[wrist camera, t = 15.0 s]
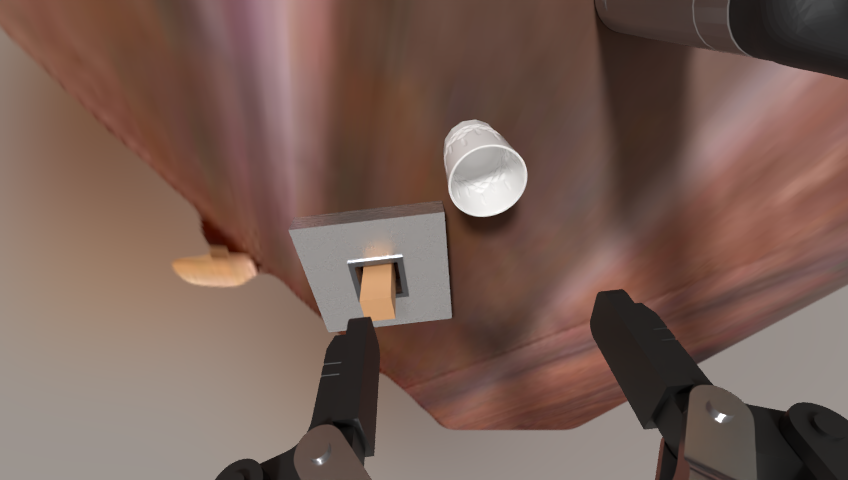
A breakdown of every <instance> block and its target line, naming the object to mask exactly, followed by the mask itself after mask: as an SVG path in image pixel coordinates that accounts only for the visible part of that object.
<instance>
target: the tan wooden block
mask: <svg viewBox="0 0 848 480" xmlns="http://www.w3.org/2000/svg"><path fill="white" fill-rule="evenodd" d="M360 304H361V308H362V311H363V314H364V317H371V319H372V321H379V320H387V319H396V273H395V268H394V263H386V264H377V265H369V266H364V268H363V276H362V284H361V293H360Z"/></svg>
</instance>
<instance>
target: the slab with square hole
mask: <svg viewBox="0 0 848 480" xmlns="http://www.w3.org/2000/svg"><path fill="white" fill-rule="evenodd" d="M289 233H290V235H291V238H292V240H293V243H294V245H295V248H296V250H297V253H298V256H299V258H300V261H301V263H302V266H303V268H304V271H305V274H306V276H307V279H308V281H309V284H310V286H311V289H312V291H313V294H314V297H315V299H316V302H317V304H318V307H319V309H320V312H321V314H322V317H323V320H324V322H325V325H326V327H327V330H328V332H336V331H345V330H347V324H348V320H349V319H352V318H361V317H364V314H363V311H362V308H361V304H360V293H361V284H362V276H363V275H362V271H361V267H360V266H369V265H377V264H386V263H394V262H398V268H399V273H400V279H396V319H387V320H379V321H372V322H373V326H374V327H380V326H388V325H397V324H406V323H414V322H423V321H432V320H440V319H449V318H452V312H451V298H450V284H449V270H448V256H447V242H446V228H445V214H444V208H443V204H442V201H434V202H425V203H417V204H408V205H399V206H391V207H382V208H374V209H365V210H357V211H348V212H339V213H331V214H322V215H314V216H305V217H296V218H294V219H293V221H292V224H291V226H290V228H289Z"/></svg>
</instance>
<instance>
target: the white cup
mask: <svg viewBox="0 0 848 480" xmlns="http://www.w3.org/2000/svg"><path fill="white" fill-rule="evenodd" d="M443 153H444V164H445V171H446V177H447V183H448V189H449V194H450V197H451V199H452V201H453V203H454V204H455V205H456V206H457V207H458V208H459V209H460V210H461V211H463V212H465V213H467V214H469V215H472V216H477V217H488V216H493V215H497V214H499V213H502V212H504V211H505V210H507V209H509V208H510V207H511V206H512V205H514V204H515V203H516V202H517V200H518V199H519V198H520V197H521V195H522V193H523V191H524V189H525V186H526V183H527V169H526V165H525V163H524V161H523V159H522V158H521V156H520V155H519V154H518V153H517V152H516V151H515V150H514V149H513V148H512V147H511V146H510V145H509V144H508V142H507V141H506V140H505V139H504V138H503V137H502V136H501V135H500V134H499V133H498V132H496V131H495V130H493V129H492V128H491V127H490V126H489V124H488V123H485V122H482V121H479V120H476V119H475V120H469V121H463V122H461V123H460V124H458V125H457V126H455V127H454V128H452V129H451V131H450V132H449V134H448V136H447V137H446V139H445V142H444V150H443Z"/></svg>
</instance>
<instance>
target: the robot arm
mask: <svg viewBox="0 0 848 480" xmlns="http://www.w3.org/2000/svg"><path fill="white" fill-rule="evenodd" d="M595 6H596V9H597V12H598V15H599V17H600V19H601V20H602V22H603V23H604V24H605V25H606V26H607V27H608V28H609V29H611V30H613V31H616V32H618V33H623V34H629V35H634V36H639V37H644V38H649V39H654V40H660V41H665V42H670V43H676V44H681V45H687V46H692V47H697V48H703V49H708V50H713V51H719V52H724V53H731V54H736V55H742V56H747V57H752V58H758V59H763V60H769V61H774V62H776V63H778V64H782V65H786V66H789V67H793V68H798V69H803V70H808V71H813V72H818V73H823V74H827V75H831V76H835V77H839V78H843V79H847V80H848V0H595ZM590 328H591V332H592V335H593V338H594V340H595V342H596V343H597V345H598V347H599V349H600V351H601V352H602V354H603V356H604V358H605V360H606V361H607V363H608V365H609V367H610V369H611V371H612V372H613V374H614V376H615V378H616V380H617V381H618V383H619V385H620V387H621V389H622V391H623V392H624V394H625V396H626V398H627V400H628V401H629V403H630V405H631V407H632V409H633V410H634V412H635V414H636V416H637V418H638V420H639V421H640V423H641V425H642V427H643V429H653V428H658V429H659V431H660V433H661V434H662V436H663V437H662V439H661V443H660V450H659V457H658V464H657V470H656V478H655V480H848V420H847V419H845V418H844V417H842V416H841V415H839V414H838V413H836V412H834V411H832V410H830V409H828V408H826V407H823V406H820V405H817V404H813V403H805V402H802V403H797V404H794V405H793V406H791V407H790V408H789V410H787V412H785V411H780V410H775V409H769V408H764V407H759V406H753V405H748V404H745V403H744V402H742V400H741V399H739V398H738V397H737V396H735V395H734V394H732V393H731V392H729V391H727V390H725V389H723V388H720V387H717V386H714V385H713V384H712V383H711V382H710V381H709V380H708V378H707V377H706V376H705V375H704V373H703V372H702V371H701V369H700V368H699V367H698V366H697V364H696V363H695V362H694V361H693V359H692V358H691V357H690V355H689V354H688V353H687V352H686V350H685V349H684V348H683V347H682V345H681V344H680V343H679V342H678V340H676V339H675V336H674V335H673V334H672V333H671V331H670V330H669V329H667V326H666V325H665V324H664V322H663V321H662V320H661V319H660V317H659V316H658V315H657V314H656V313H655V312H654V311H652V310H651V309H649V308H648V307H647V306H645V305H644V304H642V303H634V302H633V301H632V299H631V298H630V296H629V295H628V294H627V293H626V292H625V291H624V290H622V289H619V290H610V291H601V292H598V294H597V296H596V300H595V304H594V308H593V312H592V316H591V320H590ZM379 366H380V351H379V344H378V340H377V336H376V333H375V329H374V326H373V322H372V319H371V317H361V318H352V319H349V320H348V324H347V330H346V335H337V336H335V337H334V338H333V340H332V342H331V343H330V345H329V346H328V348H327V350H326V355H325V359H324V366H323V369H322V374H321V375H322V377H321V379H320V383H319V388H318V393H317V398H316V402H315V407H314V412H313V417H312V421H311V425H310V427H309V430H308V431H307V433H306V434H305V435H304V436H303V438H302V439H301V440H300V441H299V443H298V444H297V445H296V446H295V447H293V448H292V449H290V450H288V451H287V452H285V453H282V454H280V455H278V456H276V457H274V458H271V459H269V460H267V461H265V462H263V463H261V464H259V463H258V462H256V461H255V460H253V459H242V460H238V461H236V462H234V463H232V464H231V465H229V466H228V467H226V468H225V469H224V470H223V471H222V472H221V473H220V474H219V475H218V476H217V478H216V479H215V480H372V479H371V478H370V476H369V475H368V473H367V472H366V470H365V468H364V459H365V457H369V456H374V449H375V432H376V415H377V398H378V382H379Z"/></svg>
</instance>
